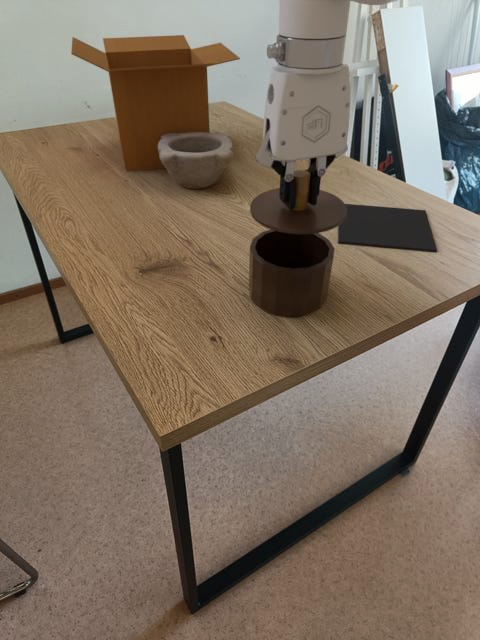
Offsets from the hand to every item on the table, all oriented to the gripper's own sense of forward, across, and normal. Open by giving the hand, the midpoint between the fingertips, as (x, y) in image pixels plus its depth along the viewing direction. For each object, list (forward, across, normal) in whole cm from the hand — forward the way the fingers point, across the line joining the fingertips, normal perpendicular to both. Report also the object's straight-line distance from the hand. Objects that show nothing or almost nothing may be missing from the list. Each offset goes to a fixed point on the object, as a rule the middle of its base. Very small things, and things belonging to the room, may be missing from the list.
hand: (298, 202), depth 63 cm
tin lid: (+1, 0, 0) cm, 1 cm away
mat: (+16, +27, +14) cm, 34 cm away
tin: (+16, 0, 0) cm, 16 cm away
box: (+15, -5, +68) cm, 70 cm away
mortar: (+16, -2, +48) cm, 50 cm away
